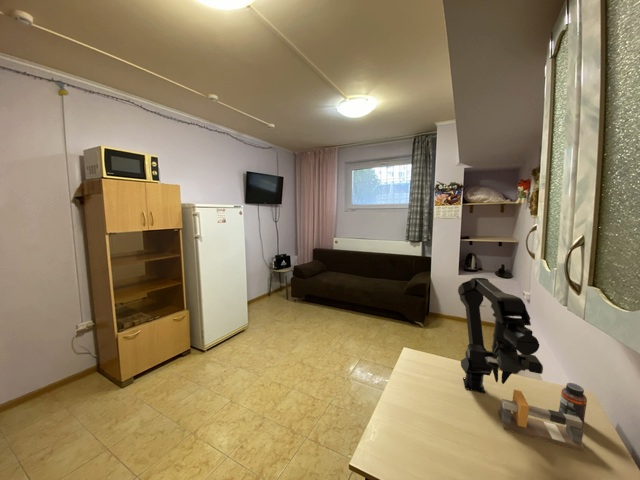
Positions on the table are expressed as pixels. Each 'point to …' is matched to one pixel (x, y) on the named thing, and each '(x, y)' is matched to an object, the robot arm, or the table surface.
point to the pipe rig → (544, 425)
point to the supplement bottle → (573, 401)
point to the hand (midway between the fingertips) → (499, 382)
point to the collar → (521, 408)
